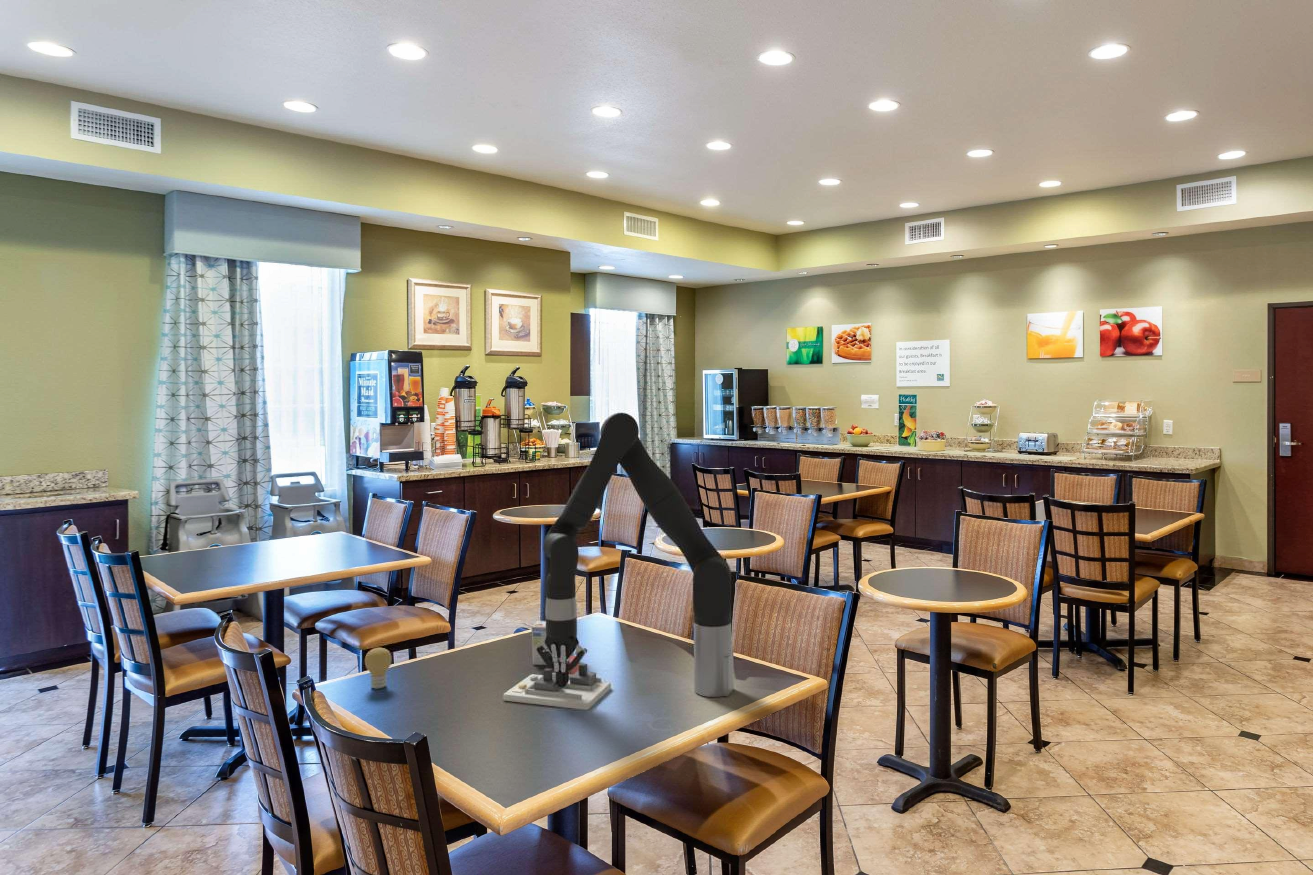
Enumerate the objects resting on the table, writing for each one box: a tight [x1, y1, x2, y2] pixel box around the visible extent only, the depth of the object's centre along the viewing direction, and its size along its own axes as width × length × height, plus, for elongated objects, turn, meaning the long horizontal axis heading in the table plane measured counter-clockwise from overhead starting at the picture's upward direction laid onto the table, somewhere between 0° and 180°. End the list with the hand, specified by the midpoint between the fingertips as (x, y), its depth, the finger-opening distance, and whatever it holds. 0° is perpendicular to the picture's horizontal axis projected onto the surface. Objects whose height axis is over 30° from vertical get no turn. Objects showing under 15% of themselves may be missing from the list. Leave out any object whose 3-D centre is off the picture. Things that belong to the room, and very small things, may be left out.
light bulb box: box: [531, 620, 575, 666], centre depth 223 cm, size 11×7×11 cm, turn 84°
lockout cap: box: [553, 655, 580, 675], centre depth 210 cm, size 5×5×5 cm
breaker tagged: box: [534, 667, 562, 692], centre depth 196 cm, size 5×5×5 cm
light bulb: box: [364, 647, 393, 690], centre depth 204 cm, size 6×6×10 cm
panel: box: [502, 662, 612, 711], centre depth 198 cm, size 22×15×7 cm
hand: (562, 685), depth 195 cm, fingers closed
